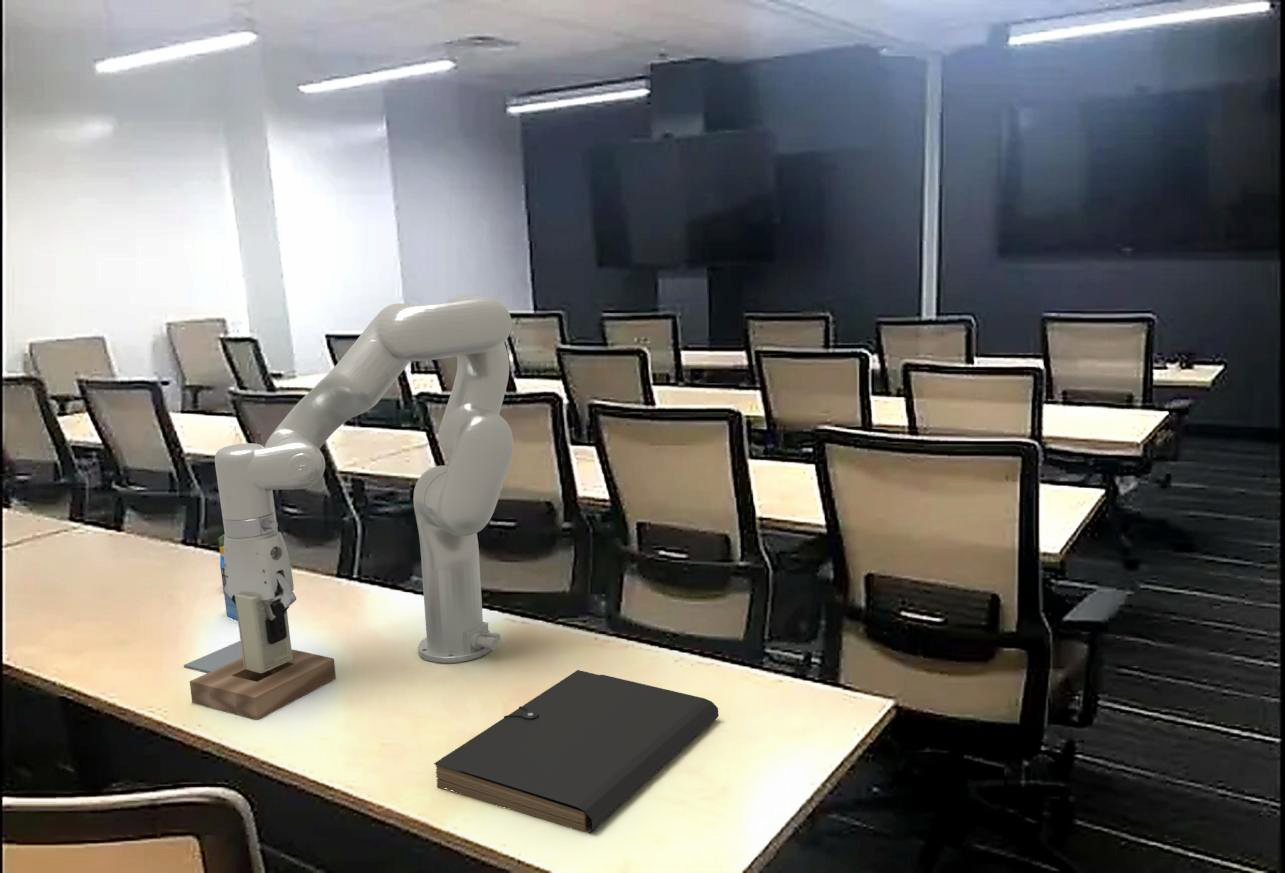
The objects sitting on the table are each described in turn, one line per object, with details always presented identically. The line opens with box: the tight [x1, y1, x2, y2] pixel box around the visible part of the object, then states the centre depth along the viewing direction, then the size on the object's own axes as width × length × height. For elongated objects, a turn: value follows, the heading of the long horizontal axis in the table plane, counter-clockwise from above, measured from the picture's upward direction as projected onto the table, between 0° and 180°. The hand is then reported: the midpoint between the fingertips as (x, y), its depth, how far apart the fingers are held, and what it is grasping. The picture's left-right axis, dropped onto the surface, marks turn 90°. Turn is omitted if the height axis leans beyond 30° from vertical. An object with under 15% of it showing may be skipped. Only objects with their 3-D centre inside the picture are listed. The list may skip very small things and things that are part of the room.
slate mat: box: [183, 640, 243, 674], centre depth 179 cm, size 12×12×1 cm
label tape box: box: [219, 554, 238, 621], centre depth 198 cm, size 9×4×12 cm, turn 48°
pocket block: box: [189, 648, 337, 721], centre depth 166 cm, size 14×16×4 cm
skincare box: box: [235, 594, 293, 673], centre depth 165 cm, size 6×4×12 cm
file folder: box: [433, 669, 719, 834], centre depth 143 cm, size 33×4×24 cm
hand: (265, 637), depth 165 cm, fingers closed on skincare box, 4 cm apart
